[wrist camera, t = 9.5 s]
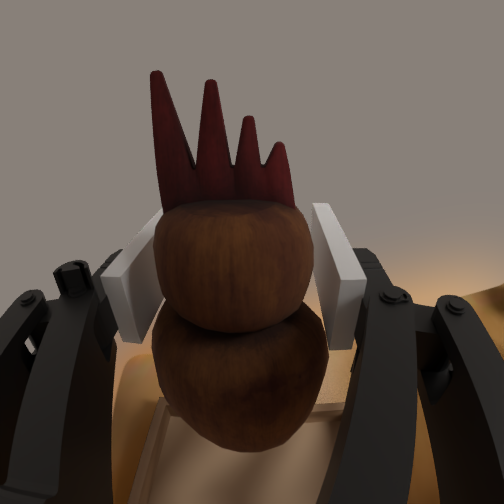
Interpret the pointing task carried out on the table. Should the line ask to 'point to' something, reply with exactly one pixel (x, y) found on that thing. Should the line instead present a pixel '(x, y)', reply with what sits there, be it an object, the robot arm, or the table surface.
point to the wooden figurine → (232, 284)
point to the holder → (233, 464)
